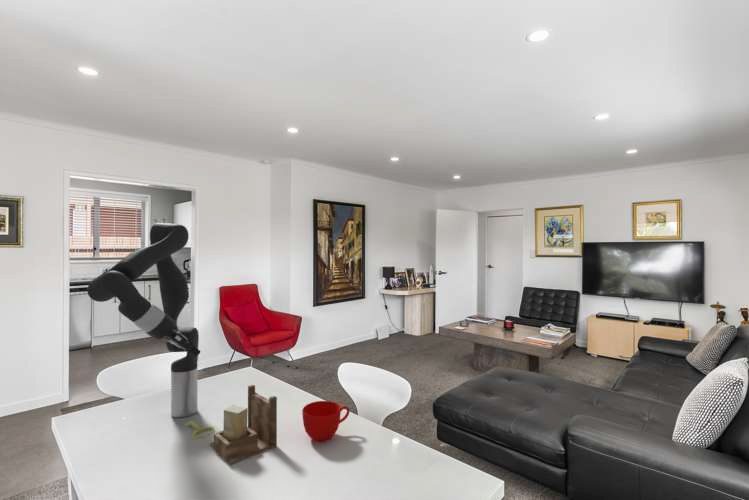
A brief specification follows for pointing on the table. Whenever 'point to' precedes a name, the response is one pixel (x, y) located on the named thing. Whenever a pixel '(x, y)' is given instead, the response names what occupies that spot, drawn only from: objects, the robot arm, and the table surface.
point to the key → (200, 429)
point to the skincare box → (235, 423)
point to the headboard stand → (251, 430)
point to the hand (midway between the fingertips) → (193, 351)
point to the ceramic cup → (322, 419)
